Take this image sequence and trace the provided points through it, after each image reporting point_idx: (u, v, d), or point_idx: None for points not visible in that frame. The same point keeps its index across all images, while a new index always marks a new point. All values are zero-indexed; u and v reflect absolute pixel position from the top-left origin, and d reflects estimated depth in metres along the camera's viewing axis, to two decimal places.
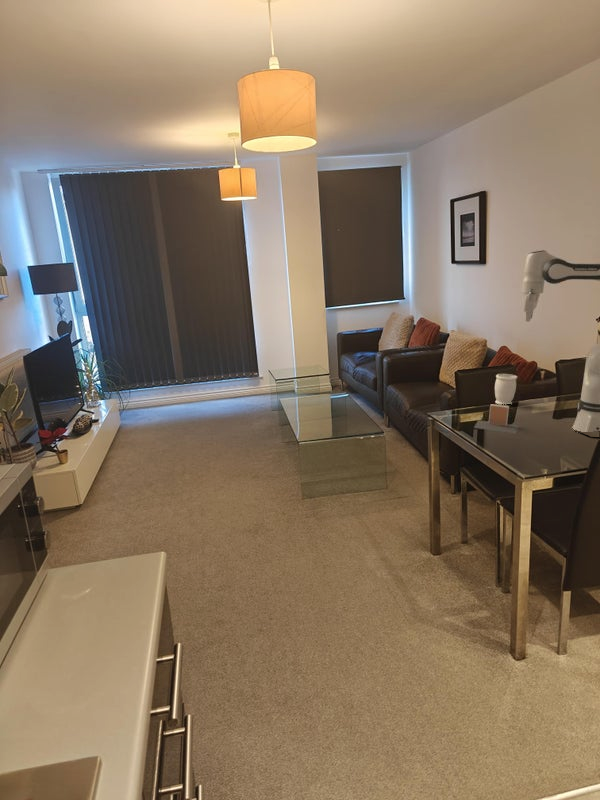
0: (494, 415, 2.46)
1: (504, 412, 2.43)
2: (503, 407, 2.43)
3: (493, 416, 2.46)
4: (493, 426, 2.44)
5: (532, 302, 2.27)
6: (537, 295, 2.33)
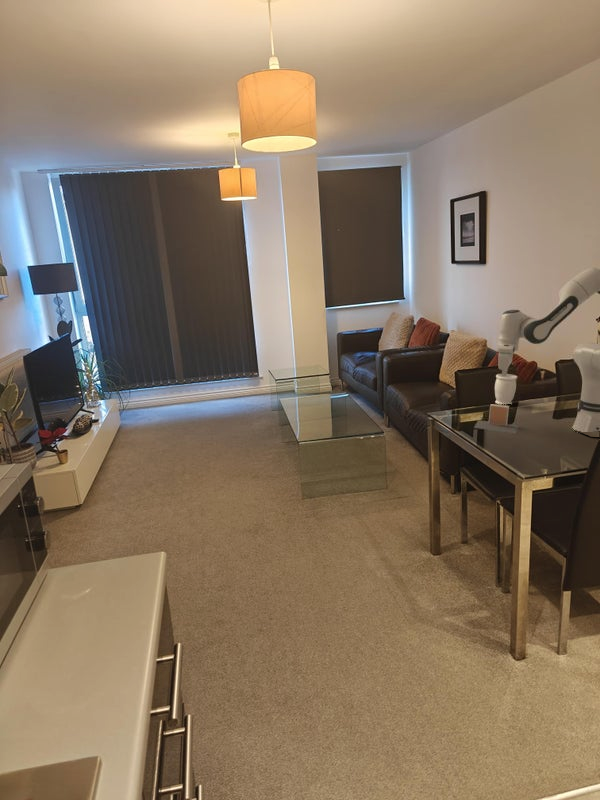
0: (494, 415, 2.46)
1: (504, 412, 2.43)
2: (503, 407, 2.43)
3: (493, 416, 2.46)
4: (493, 426, 2.44)
5: None
6: None
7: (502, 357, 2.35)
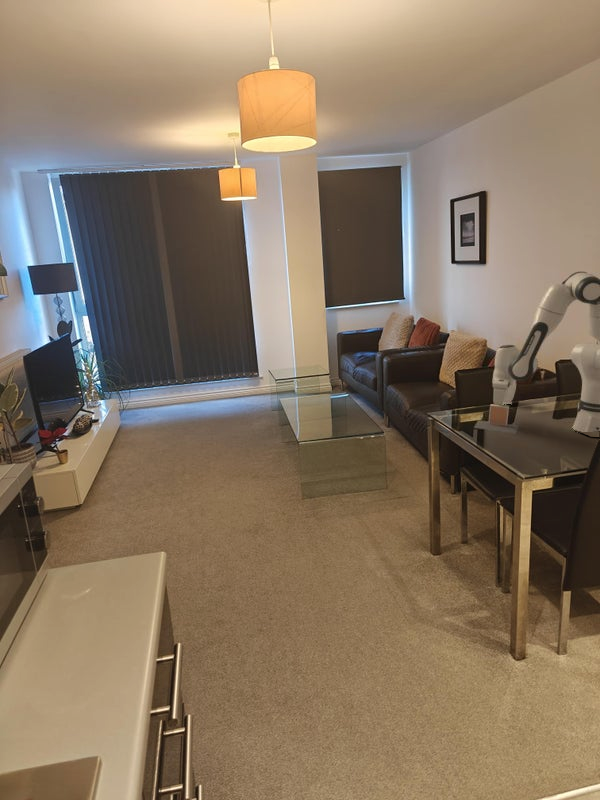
0: (494, 415, 2.46)
1: (504, 412, 2.43)
2: (503, 407, 2.43)
3: (493, 416, 2.46)
4: (493, 426, 2.44)
5: None
6: None
7: (497, 392, 2.36)
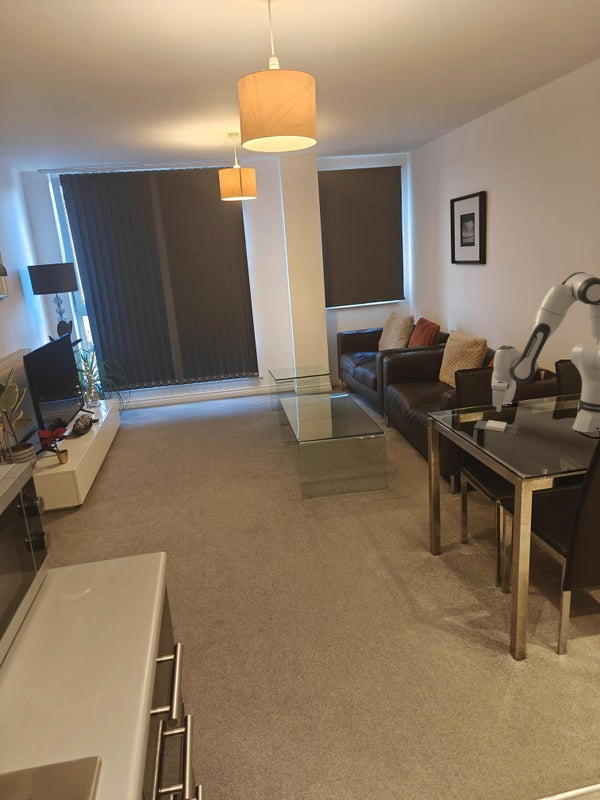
0: None
1: None
2: (498, 430, 2.38)
3: None
4: None
5: None
6: None
7: (496, 394, 2.33)
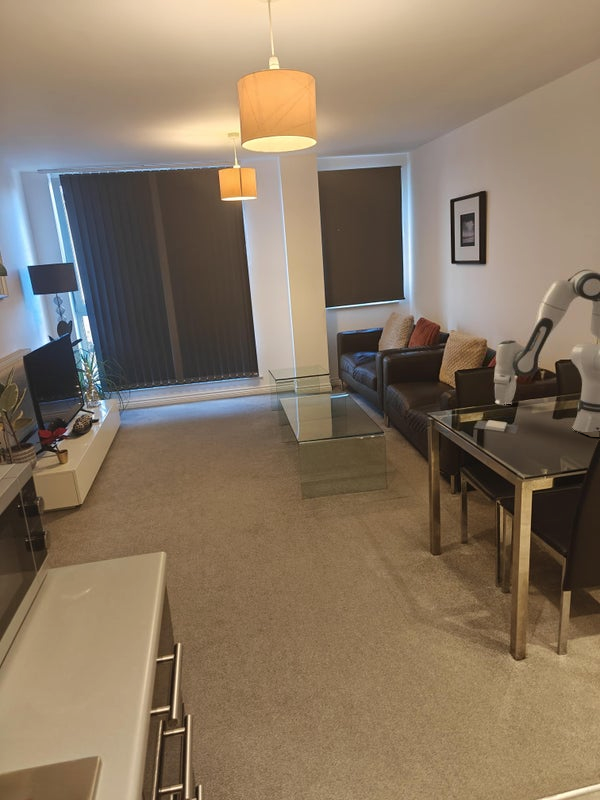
0: None
1: None
2: (498, 430, 2.38)
3: None
4: None
5: None
6: None
7: (498, 388, 2.39)
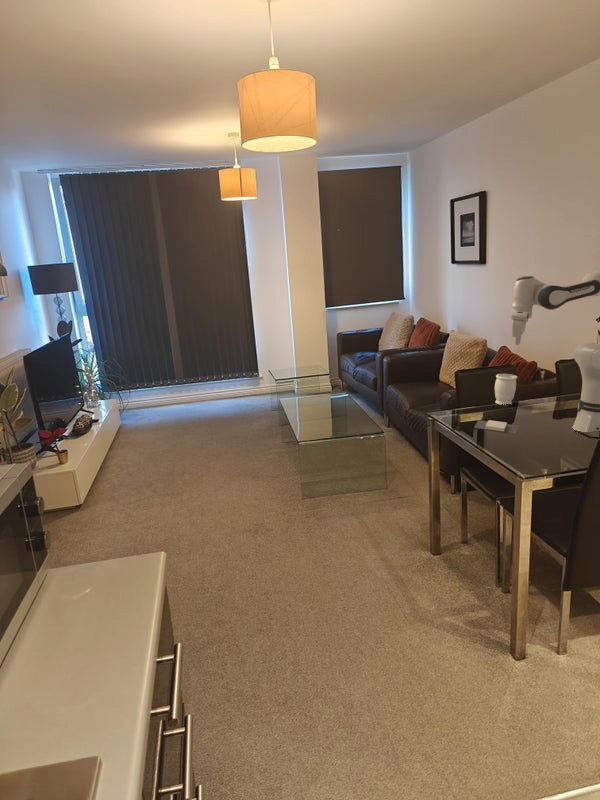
0: None
1: None
2: (498, 430, 2.38)
3: None
4: None
5: None
6: None
7: (516, 324, 2.31)
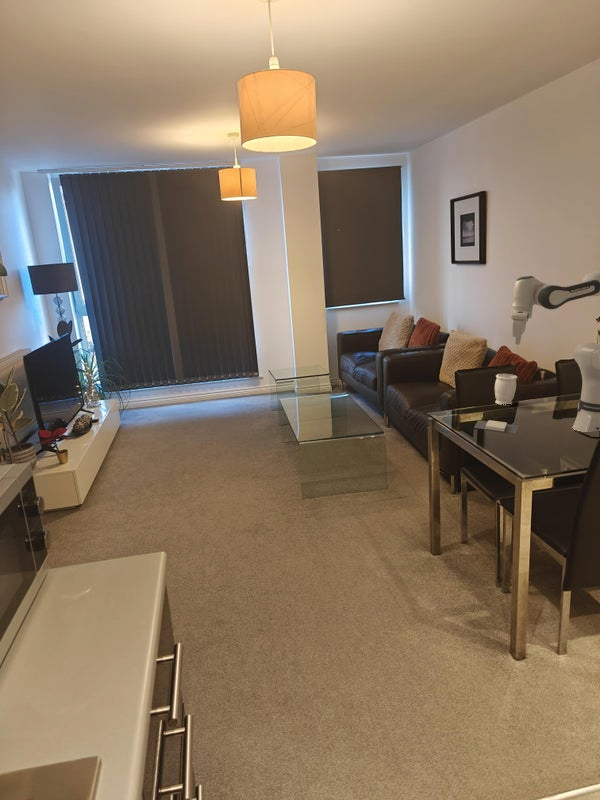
0: None
1: None
2: (498, 430, 2.38)
3: None
4: None
5: None
6: None
7: (516, 324, 2.31)
